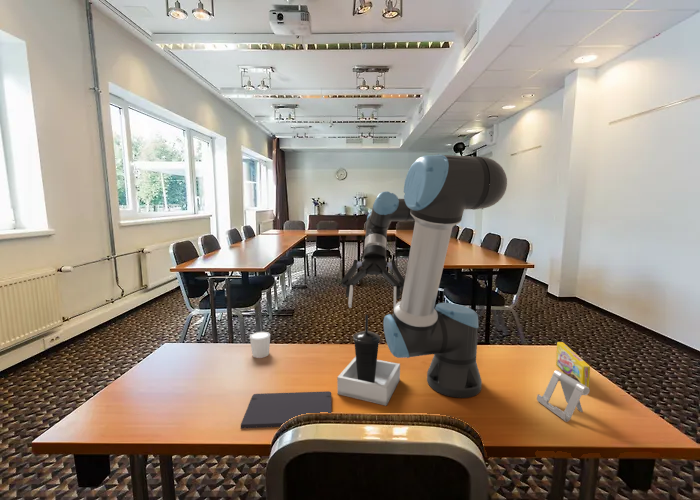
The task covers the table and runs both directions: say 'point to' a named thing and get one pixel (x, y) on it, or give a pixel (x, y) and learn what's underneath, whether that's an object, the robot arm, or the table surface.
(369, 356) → the drinking cup
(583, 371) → the candy box
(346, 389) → the cup tray
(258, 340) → the white tapered cylinder
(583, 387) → the portable electronic device stand
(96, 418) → the table surface
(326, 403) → the notebook
